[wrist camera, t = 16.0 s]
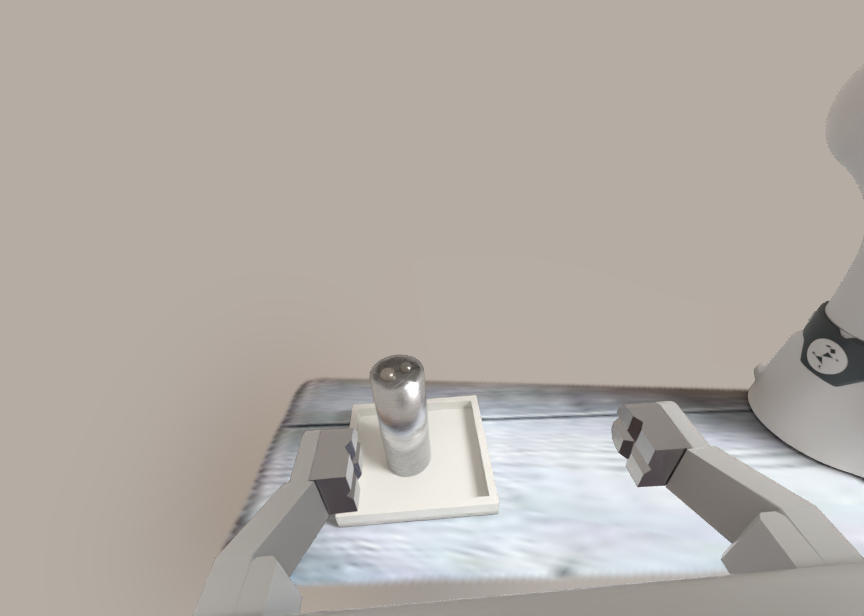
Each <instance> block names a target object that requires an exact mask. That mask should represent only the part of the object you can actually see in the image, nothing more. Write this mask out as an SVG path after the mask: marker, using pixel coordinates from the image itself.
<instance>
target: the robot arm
mask: <svg viewBox="0 0 864 616" xmlns="http://www.w3.org/2000/svg"><path fill="white" fill-rule="evenodd" d="M826 140H827V144H828V147H829V149H830V151H831V153H832V155H834V157H835V159H836V160H837V161H838V162H839V163H841V164H842V165H843V166H844V167H845V168H846V169H847V171H848V172H849V173H850V174H851V175H852V176H853V178H854V180H855V181H856V183H857V185H858V186H859V189H860V191H861V193H862V196H863V199H864V65H863V66H862V67H861V68H859V70H857V71H856V73H855V74H854V75H853V76H852V77H851V78H850V79H849V80H848V81H847V83H846V84H845V85H844V86H843V87H842V89H841V90H840V92H839V93H838V95H837V96H836V98H835V100H834V102H833V104H832V106H831V108H830V111H829V114H828V117H827V122H826ZM754 375H755V379H756V380H755V382H754V384H753V385H752V386H751V387H750V389H749V391H748V400H749V404H750V406H751V408H752V410H753V412H754V413H755V415H756V416H757V417H758V419H759V420H760V421H761V422H762V423H763V424H764V425H765V426H766V427H767V428H768V429H769V430H770V431H771V432H773V433H774V434H775V435H776V436H777V437H779V438H780V439H781V440H783V441H784V442H786V443H787V444H789V445H790V446H792V447H793V448H795V449H797V450H798V451H800V452H802V453H804V454H805V455H807V456H809V457H811V458H813V459H815V460H817V461H820V462H822V463H824V464H826V465H829V466H831V467H834V468H837V469H840V470H843V471H846V472H849V473H852V474H855V475H857V476H860V477H863V478H864V238H863V241H862V244H861V247H860V249H859V251H858V253H857V255H856V258H855V259H854V261H853V263H852V265H851V267H850V269H849V270H848V272H847V274H846V276H845V277H844V279H843V281H842V282H841V284H840V286H839V287H838V289H837V290H836V292H835V294H834V295H833V297H832V298H831V300H830V301H827V302H825V303H823V304H822V305H821V306H820V307H819V308H818V310H817V311H815V312H814V313H813V314H812V316H811V317H810V319H809V322H808V324H807V325H806V326H805V328H804V330H802V331H796V332H795V333H793V334H792V335H791V336H790V338H789V339H788V340H787V341H786V342H785V344H784V345H783V346H782V347H781V348H780V349H779V350H778V352H777V353H776V354H775V355H774V357H773V358H772V359H771V360H770V361H769V363H760V364H758V365H757V366H756V368H755V369H754ZM617 414H618V416H619V418H618V419H617V420H616V421H614V422H613V426H612V429H611V430H612V439H613V442H614V445H615V447H616V449H617V451H618V453H620V454H621V455H622V456H624V457H625V458H626V459H627V463H626V468H627V469H628V471H629V473H630V475H631V477H632V478H633V480H634V482H635V484H636V486H637V487H648V486H666V485H667V486H666V488H667V489H669V490H670V491H671V492H672V493H673V494H675V495H676V496H677V497H678V498H679V499H680V500H682V501H683V502H684V503H685V504H686V505H687V506H689V507H690V508H691V509H692V510H693V511H694V512H696V513H697V514H698V515H699V516H700V517H701V518H703V519H704V520H705V521H706V522H707V523H708V524H710V525H711V526H712V527H713V528H714V529H716V530H717V531H718V532H719V533H720V534H721V535H723V536H724V537H725V538H726V539H727V540H728V541H730V542H731V543H732V544H731V546H730V547H729V548H728V549H727V550H726V551H725V552H724V553H723V555H722V558H721V560H722V562H723V564H724V565H725V567H726V568H727V570H728V572H729V573H730V575H719V576H708V577H697V578H685V579H674V580H663V581H653V582H641V583H630V584H619V585H609V586H597V587H586V588H574V589H564V590H553V591H541V592H530V593H519V594H508V595H497V596H486V597H475V598H464V599H452V600H441V601H430V602H419V603H409V604H397V605H386V606H375V607H364V608H353V609H342V610H332V611H320V612H309V613H300V608H301V602H302V596H301V594H300V592H299V591H298V589H297V588H296V587H295V585H294V584H293V582H292V581H291V580H290V578H289V577H290V576H291V574H292V573H293V571H294V570H295V568H296V567H297V565H298V564H299V562H300V561H301V559H302V557H303V556H304V554H305V553H306V551H307V550H308V548H309V547H310V545H311V544H312V542H313V541H314V539H315V538H316V536H317V535H318V533H319V531H320V530H321V528H322V527H323V525H324V524H325V522H326V521H327V519H328V518H329V515H330V514H339V513H348V512H356V511H358V505H359V496H360V486H359V483H358V479H359V478H360V476H361V475H362V469H363V453H362V447H361V443H359V442H358V441H357V440H358V432H357V429H356V428H342V429H325V430H311V431H305V433H304V434H303V436H302V439H301V443H300V446H299V450H298V453H297V457H296V460H295V464H294V467H293V471H292V474H291V478H290V481H289V483H284V484H283V485H282V486H281V487H280V488H279V489H278V490H277V492H276V493H275V494H274V495H273V496H272V497H271V498H270V499H269V500H268V501H267V502H266V504H265V505H264V506H263V507H262V508H261V509H260V510H259V511H258V512H257V513H256V514H255V516H254V517H253V518H252V519H251V520H250V521H249V522H248V523H247V524H246V525H245V526H244V528H243V529H242V530H241V531H240V532H239V533H238V534H237V535H236V536H235V537H234V538H233V540H232V541H231V542H230V543H229V544H228V545H227V546H226V547H225V548H224V549H223V550H222V551H221V553H220V554H219V555H218V556H217V557H216V558H215V560H214V562H213V565H212V567H211V570H210V573H209V575H208V578H207V580H206V583H205V585H204V588H203V590H202V593H201V595H200V598H199V601H198V603H197V606H196V608H195V611H194V613H193V616H864V558H863V557H862V556H861V555H860V553H859V552H858V551H857V550H856V549H855V548H854V547H853V546H852V545H851V544H850V543H849V541H848V540H847V539H846V538H845V537H844V536H843V535H842V534H841V533H840V532H839V531H838V529H837V528H836V527H835V526H834V525H833V524H832V523H831V522H830V521H829V520H828V519H827V517H826V516H825V515H824V514H823V513H822V512H821V511H820V510H819V509H818V508H817V507H816V506H815V505H813V504H811V503H810V502H808V501H806V500H805V499H803V498H801V497H800V496H798V495H796V494H795V493H793V492H791V491H790V490H788V489H786V488H785V487H783V486H781V485H780V484H778V483H776V482H774V481H773V480H771V479H769V478H768V477H766V476H764V475H763V474H761V473H759V472H758V471H756V470H754V469H753V468H751V467H749V466H748V465H746V464H744V463H743V462H741V461H739V460H738V459H736V458H734V457H733V456H731V455H729V454H728V453H726V452H724V451H722V450H721V449H719V448H717V447H710V445H709V444H708V443H707V441H706V440H705V439H704V438H703V436H702V435H701V434H700V433H699V431H698V430H697V429H696V428H695V426H694V425H693V424H692V423H691V421H690V420H689V419H688V418H687V416H686V415H685V414H684V413H683V411H682V410H681V409H680V408H679V406H678V405H677V404H676V403H675V402H673V401H661V402H646V403H636V404H626V405H621V406H620V407H619V408H618V411H617Z"/></svg>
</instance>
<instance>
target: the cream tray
mask: <svg viewBox="0 0 864 616" xmlns="http://www.w3.org/2000/svg"><path fill="white" fill-rule="evenodd" d="M426 400H427V412H428V424H429V435H430V447H431V460H430V462H429V465H428V466H427V467H426V469H425V470H424V471H422V472H421V473H419V474H417V475H415V476H411V477H402V476H399V475H396V474H395V473H393V472H392V471H391V470H390V469H389V467H388V465H387V462H386V457H385V452H384V447H383V442H382V437H381V432H380V427H379V422H378V417H377V412H376V407H375V403H370V404H357V405H353V407H352V414H351V420H350V427H349V428H356V429H357V432H358V440H357V441H358V442H359V443H361V447H362V453H363V469H362V475H361V476H360V478H359V479H358V483H359V486H360V496H359V505H358V511H356V512H348V513H339V514H336V516H335V518H336V520H337V523H338V526H339V527H350V526H361V525H373V524H385V523H397V522H408V521H420V520H432V519H443V518H455V517H467V516H478V515H490V514H498V510H499V500H498V495H497V491H496V486H495V481H494V476H493V472H492V467H491V462H490V458H489V453H488V448H487V444H486V439H485V434H484V429H483V425H482V420H481V415H480V411H479V406H478V401H477V396H476V395H472V396H459V397H447V398H434V399H426Z"/></svg>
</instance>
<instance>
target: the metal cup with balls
mask: <svg viewBox="0 0 864 616" xmlns="http://www.w3.org/2000/svg"><path fill="white" fill-rule="evenodd" d="M370 382H371V387H372V392H373V397H374V402H375V407H376V412H377V417H378V422H379V427H380V432H381V437H382V442H383V447H384V452H385V457H386V462H387V465H388V467H389V469H390V470H391V471H392V472H393V473H395V474H396V475H399V476H402V477H411V476H415V475H417V474H419V473H421V472H422V471H424V470H425V469H426V467H427V466H428V465H429V462H430V460H431V447H430V435H429V424H428V412H427V400H426V389H425V377H424V368H423V365H422V364H421V362H420V361H419V360H417V359H416V358H414V357H411V356H408V355H393V356H389V357H386V358H384V359H382V360H380V361H379V362H377V363H376V364H375V365H374V366H373V368H372V370H371V372H370Z"/></svg>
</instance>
